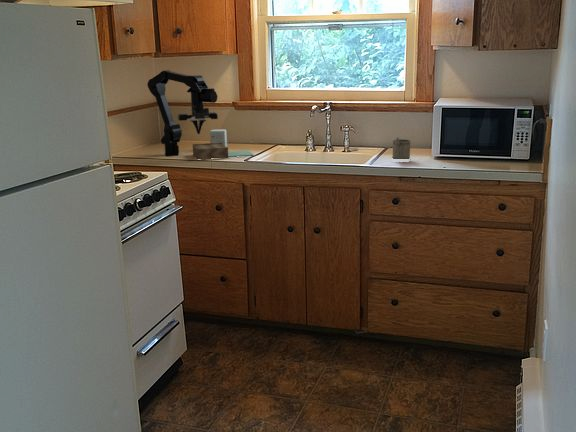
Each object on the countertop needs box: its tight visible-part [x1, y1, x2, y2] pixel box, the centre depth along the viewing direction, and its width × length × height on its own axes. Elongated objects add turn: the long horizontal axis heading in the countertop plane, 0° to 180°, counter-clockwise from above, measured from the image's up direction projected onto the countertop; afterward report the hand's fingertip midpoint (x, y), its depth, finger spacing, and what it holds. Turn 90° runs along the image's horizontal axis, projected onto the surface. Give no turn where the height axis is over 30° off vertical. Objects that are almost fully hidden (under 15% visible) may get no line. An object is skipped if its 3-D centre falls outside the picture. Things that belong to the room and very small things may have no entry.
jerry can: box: [391, 137, 412, 159], centre depth 294 cm, size 14×10×12 cm
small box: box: [209, 129, 228, 147], centre depth 333 cm, size 8×6×10 cm
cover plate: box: [228, 149, 255, 158], centre depth 318 cm, size 13×13×2 cm
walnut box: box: [192, 142, 229, 160], centre depth 314 cm, size 15×16×6 cm
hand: (198, 133), depth 309 cm, fingers closed
